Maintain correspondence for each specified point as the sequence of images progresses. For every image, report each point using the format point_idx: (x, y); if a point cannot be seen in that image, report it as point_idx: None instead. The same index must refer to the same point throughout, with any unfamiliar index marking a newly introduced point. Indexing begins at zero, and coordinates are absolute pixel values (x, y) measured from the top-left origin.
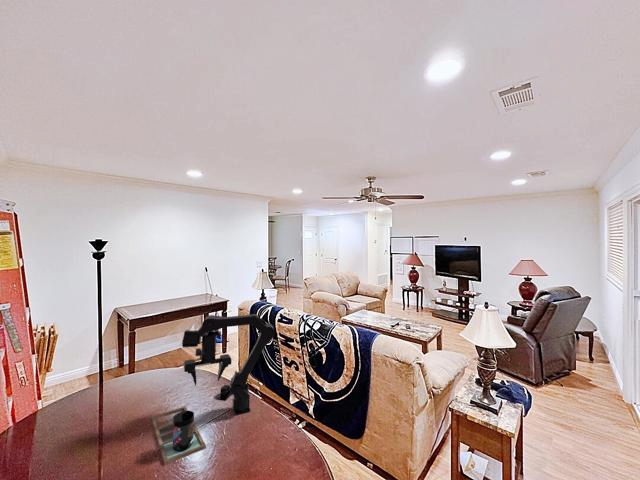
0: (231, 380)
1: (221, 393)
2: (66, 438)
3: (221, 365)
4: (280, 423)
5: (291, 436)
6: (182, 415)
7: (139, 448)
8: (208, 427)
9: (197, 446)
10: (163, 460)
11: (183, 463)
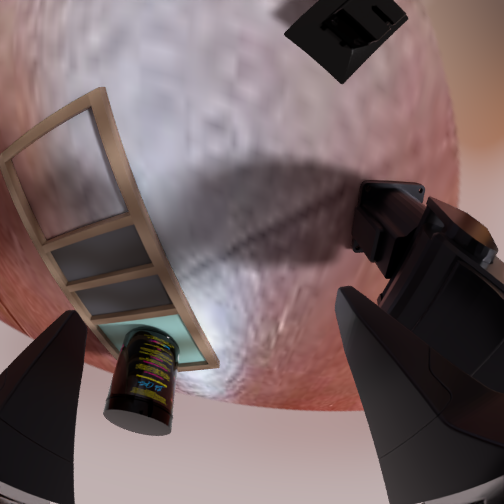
0: (435, 317)
1: (334, 23)
2: None
3: (415, 502)
4: None
5: None
6: (130, 421)
7: (44, 301)
8: (227, 287)
9: (195, 356)
10: None
11: None
